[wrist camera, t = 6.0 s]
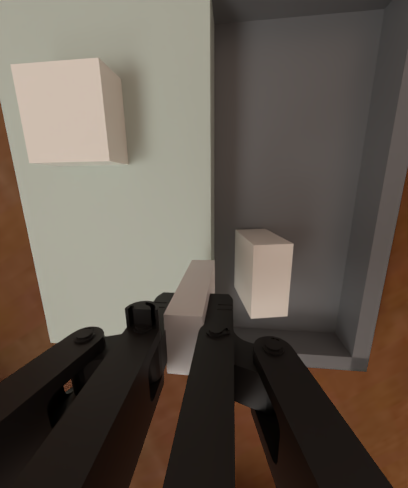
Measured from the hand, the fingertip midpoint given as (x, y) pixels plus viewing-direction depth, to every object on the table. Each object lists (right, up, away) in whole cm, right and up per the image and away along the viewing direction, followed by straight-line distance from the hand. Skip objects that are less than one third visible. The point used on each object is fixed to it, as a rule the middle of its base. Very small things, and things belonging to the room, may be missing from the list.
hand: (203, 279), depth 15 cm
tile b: (-8, +10, 0) cm, 13 cm away
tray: (+7, +6, +3) cm, 10 cm away
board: (-6, +6, +5) cm, 10 cm away
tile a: (+3, 0, +2) cm, 3 cm away
